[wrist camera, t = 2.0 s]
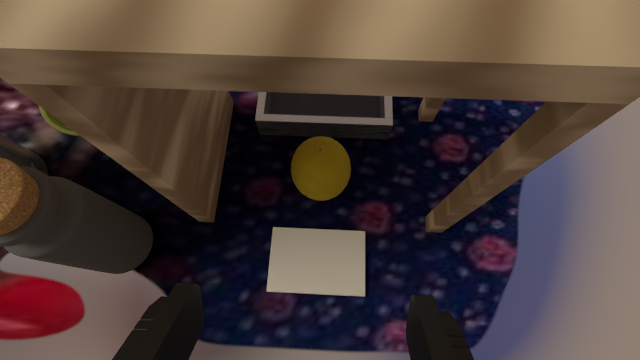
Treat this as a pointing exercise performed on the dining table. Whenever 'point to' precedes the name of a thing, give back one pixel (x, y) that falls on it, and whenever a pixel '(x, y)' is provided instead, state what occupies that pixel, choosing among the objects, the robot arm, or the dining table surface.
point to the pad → (317, 262)
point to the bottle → (67, 223)
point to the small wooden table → (315, 73)
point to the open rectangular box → (324, 115)
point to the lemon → (320, 168)
